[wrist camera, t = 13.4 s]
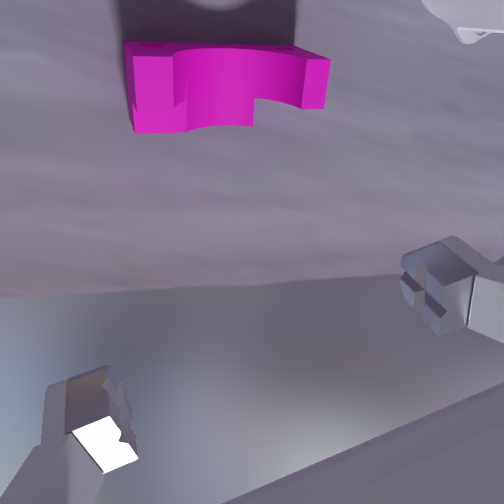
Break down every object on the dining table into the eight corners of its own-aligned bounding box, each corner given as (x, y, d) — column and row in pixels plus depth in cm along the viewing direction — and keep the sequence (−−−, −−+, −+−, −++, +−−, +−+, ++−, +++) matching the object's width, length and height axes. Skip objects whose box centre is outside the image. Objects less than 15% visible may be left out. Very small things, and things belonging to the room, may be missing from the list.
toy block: (129, 118, 39) (139, 146, 33) (123, 40, 36) (133, 56, 30) (285, 114, 44) (319, 138, 38) (292, 45, 40) (330, 59, 34)
